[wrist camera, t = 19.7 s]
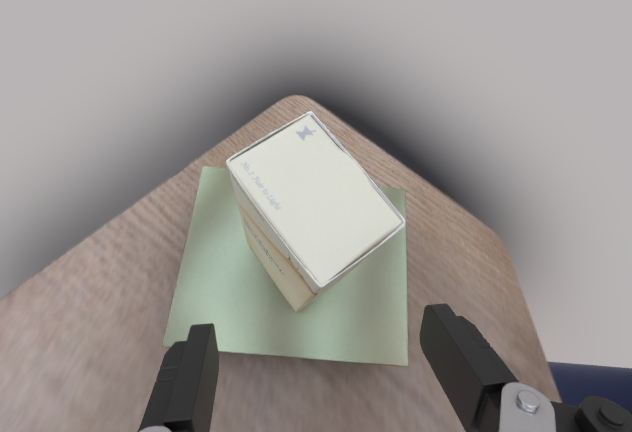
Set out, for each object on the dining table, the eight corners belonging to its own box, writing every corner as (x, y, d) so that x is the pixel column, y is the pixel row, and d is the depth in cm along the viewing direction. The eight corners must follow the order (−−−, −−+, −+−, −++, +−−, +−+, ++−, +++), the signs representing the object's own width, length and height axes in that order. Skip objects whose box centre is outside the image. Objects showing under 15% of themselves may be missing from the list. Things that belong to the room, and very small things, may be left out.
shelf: (381, 218, 33) (405, 189, 27) (379, 360, 29) (408, 366, 22) (218, 200, 32) (202, 165, 26) (189, 345, 28) (161, 346, 21)
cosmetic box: (246, 243, 24) (215, 157, 13) (296, 210, 25) (309, 104, 14) (298, 317, 22) (317, 294, 11) (348, 277, 24) (411, 221, 12)
